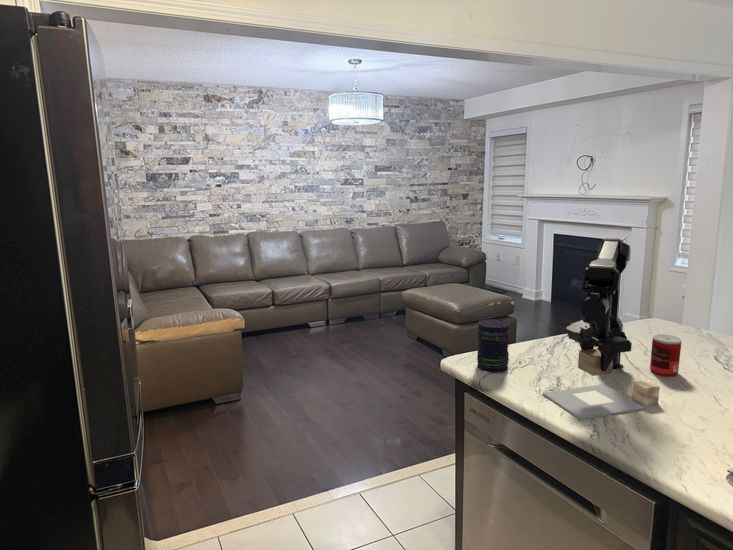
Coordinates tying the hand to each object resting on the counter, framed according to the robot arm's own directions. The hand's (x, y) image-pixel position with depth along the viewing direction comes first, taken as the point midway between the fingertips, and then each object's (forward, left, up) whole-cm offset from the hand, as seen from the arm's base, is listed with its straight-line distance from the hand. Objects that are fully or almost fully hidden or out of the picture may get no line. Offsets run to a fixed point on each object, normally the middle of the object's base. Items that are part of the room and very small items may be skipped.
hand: (595, 366), depth 137 cm
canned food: (-34, -10, -10) cm, 37 cm away
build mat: (+1, +1, -9) cm, 10 cm away
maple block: (-12, +5, -10) cm, 16 cm away
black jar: (+14, -30, -10) cm, 34 cm away
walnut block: (0, 0, -1) cm, 1 cm away
